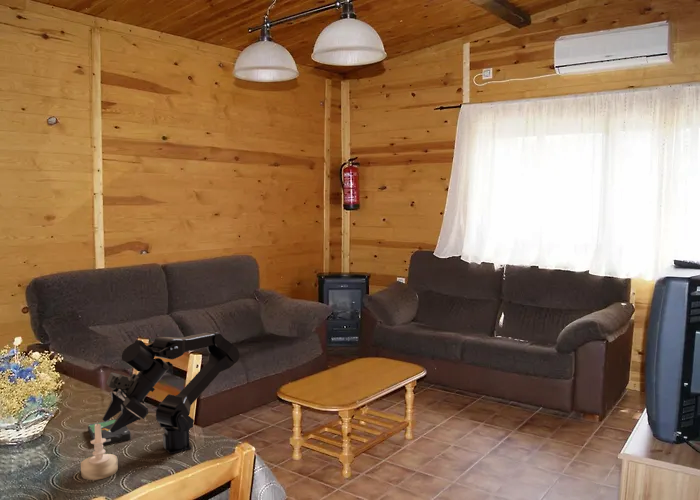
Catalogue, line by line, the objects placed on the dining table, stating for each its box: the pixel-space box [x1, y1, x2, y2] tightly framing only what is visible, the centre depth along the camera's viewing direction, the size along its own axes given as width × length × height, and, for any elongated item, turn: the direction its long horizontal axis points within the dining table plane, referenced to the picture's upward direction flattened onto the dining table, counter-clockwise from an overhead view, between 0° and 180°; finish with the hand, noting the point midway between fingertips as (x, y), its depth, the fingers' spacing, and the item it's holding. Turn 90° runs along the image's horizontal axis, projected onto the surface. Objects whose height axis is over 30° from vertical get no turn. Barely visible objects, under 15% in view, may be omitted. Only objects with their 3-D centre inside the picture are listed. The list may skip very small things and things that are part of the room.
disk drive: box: [87, 418, 132, 447], centre depth 187 cm, size 10×3×15 cm
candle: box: [89, 422, 110, 465], centre depth 162 cm, size 5×5×10 cm
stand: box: [80, 453, 119, 481], centre depth 162 cm, size 9×9×3 cm
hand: (107, 425), depth 163 cm, fingers open, 9 cm apart
